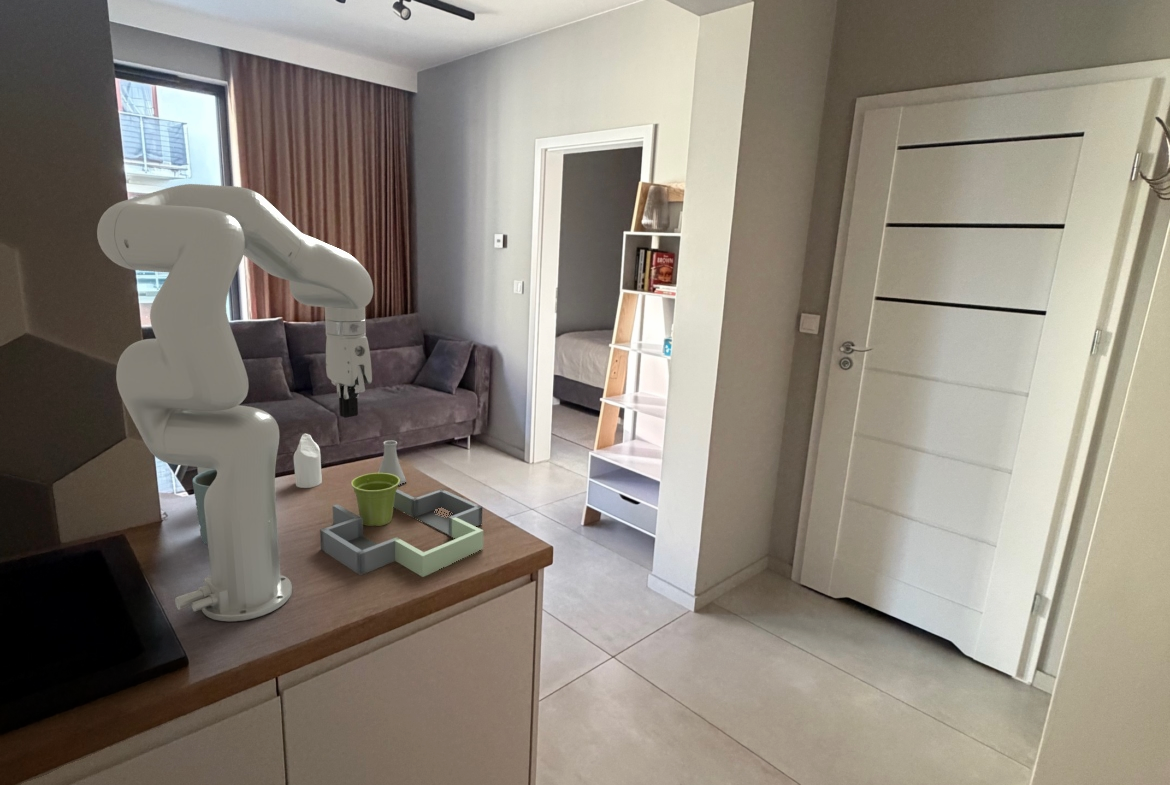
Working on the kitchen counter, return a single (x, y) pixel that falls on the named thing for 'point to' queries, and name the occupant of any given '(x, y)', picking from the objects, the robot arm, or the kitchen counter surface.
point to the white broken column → (307, 463)
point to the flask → (391, 461)
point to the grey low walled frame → (367, 556)
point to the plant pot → (375, 497)
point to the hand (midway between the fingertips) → (348, 415)
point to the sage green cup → (202, 497)
